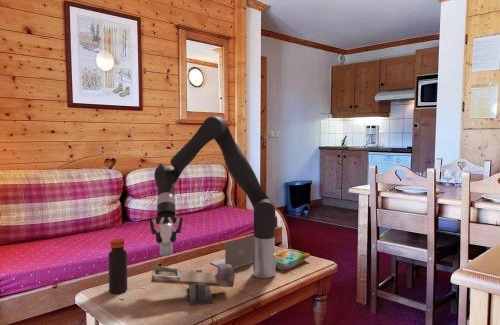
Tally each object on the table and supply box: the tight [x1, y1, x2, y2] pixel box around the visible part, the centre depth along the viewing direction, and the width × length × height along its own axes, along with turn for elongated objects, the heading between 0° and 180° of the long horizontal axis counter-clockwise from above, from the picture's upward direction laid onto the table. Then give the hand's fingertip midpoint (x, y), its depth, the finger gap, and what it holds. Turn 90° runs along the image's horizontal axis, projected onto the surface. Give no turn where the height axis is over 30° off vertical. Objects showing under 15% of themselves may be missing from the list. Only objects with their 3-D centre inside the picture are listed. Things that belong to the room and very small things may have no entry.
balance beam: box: [150, 264, 236, 288], centre depth 142 cm, size 30×10×5 cm, turn 102°
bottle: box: [107, 238, 128, 295], centre depth 146 cm, size 7×7×20 cm
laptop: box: [210, 236, 254, 269], centre depth 179 cm, size 18×12×13 cm
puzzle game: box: [274, 248, 311, 272], centre depth 180 cm, size 12×5×20 cm
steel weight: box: [159, 222, 174, 256], centre depth 149 cm, size 5×5×12 cm
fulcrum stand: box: [188, 269, 214, 307], centre depth 143 cm, size 8×16×7 cm, turn 12°
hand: (166, 242), depth 147 cm, fingers closed on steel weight, 5 cm apart
